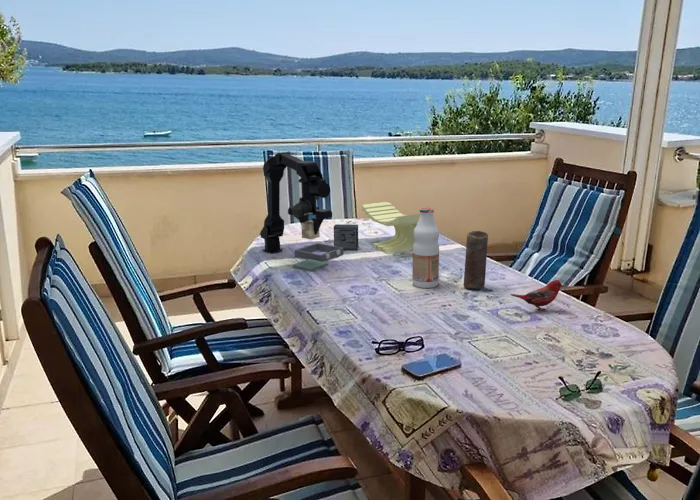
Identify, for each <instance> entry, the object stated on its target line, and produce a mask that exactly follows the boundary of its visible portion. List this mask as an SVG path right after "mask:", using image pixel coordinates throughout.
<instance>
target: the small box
mask: <svg viewBox="0 0 700 500" xmlns="http://www.w3.org/2000/svg"><path fill="white" fill-rule="evenodd" d="M333 246H336V247H341V248H343V251H358V250H359V224H347V223H346V224H345V223H344V224H334V226H333Z"/></svg>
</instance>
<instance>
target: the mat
mask: <svg viewBox="0 0 700 500" xmlns="http://www.w3.org/2000/svg"><path fill="white" fill-rule="evenodd" d="M327 266H329V263H328V262H327V261H324V262H322V261H317V260H312V259H303V260H302V261H299V262H296V263H293V264H292V267H293V268H296V269H301V270H304V271H309V272H314V271H317V270H318V269H322V268H325V267H327Z"/></svg>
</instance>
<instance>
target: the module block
mask: <svg viewBox="0 0 700 500" xmlns="http://www.w3.org/2000/svg"><path fill="white" fill-rule="evenodd" d="M300 225H301V226H300V228H301V238H302V239H307V240H314V239H317V238H320V235H321V234H320V229H319V230H318V233H317V234H316V235H315V234H314V224H313V221H312V220H308V221H307V222H303V223H300Z"/></svg>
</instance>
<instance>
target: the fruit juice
mask: <svg viewBox="0 0 700 500" xmlns="http://www.w3.org/2000/svg"><path fill="white" fill-rule="evenodd" d="M419 214H421V215H420V218H419V221H418V223H417V226H416V227H415V229H414V233H413V235H414V239H415V242H414V244H413V250H412V268H411V269H412V278H411V280H412V281H411V282H412V285H413V286H415V287H416V288H420V289H421V288H422V289H431V288H435V287H437V286H438V285H439V280H440V279H439V276H440V275H439V274H440V272H439V270H440V244H439V237H440V229H439V227H438V226H437V223H436V219H435V217H434V214H435V209H434V208H433V207H429V206H428V207H426V206H425V207H420V208H419Z"/></svg>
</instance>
